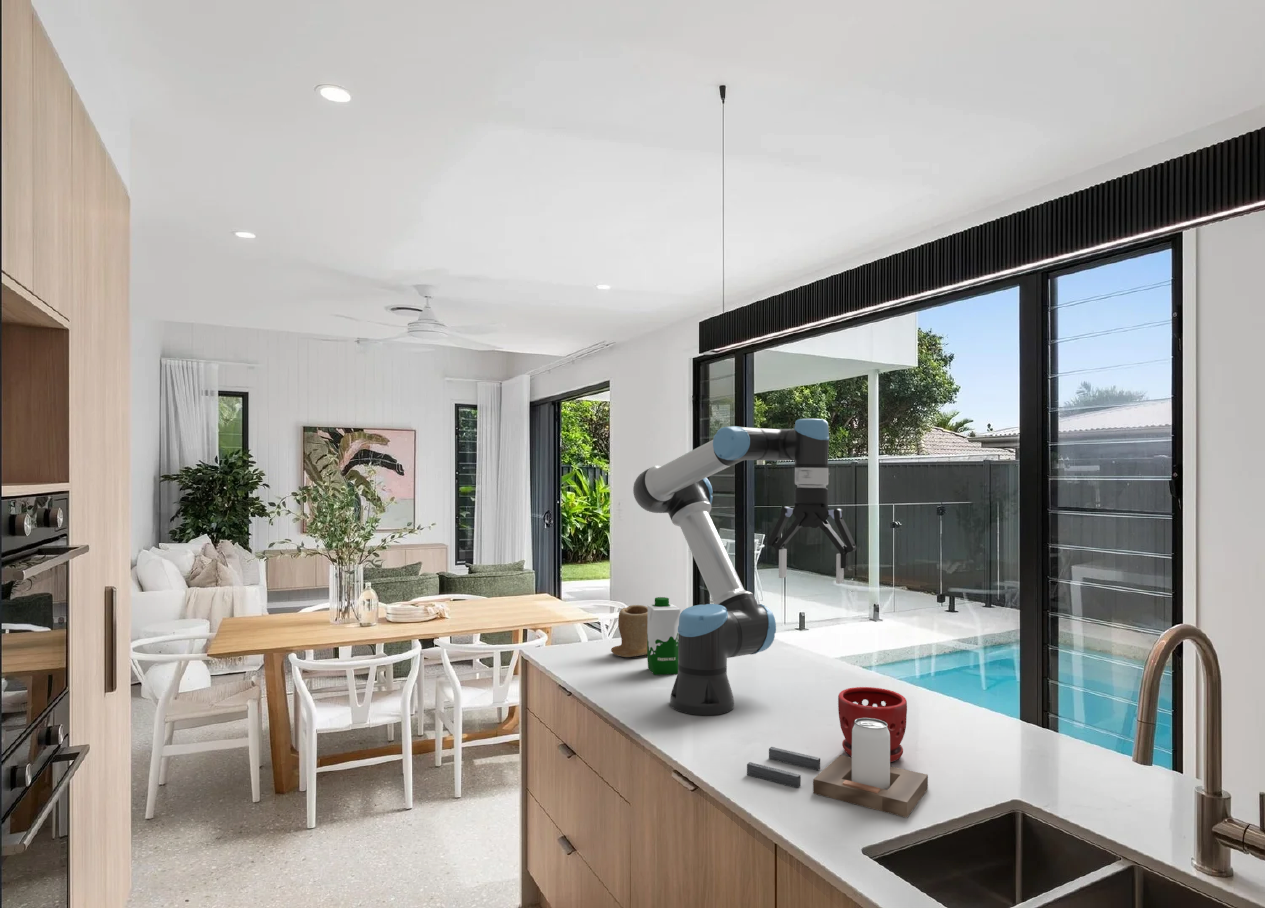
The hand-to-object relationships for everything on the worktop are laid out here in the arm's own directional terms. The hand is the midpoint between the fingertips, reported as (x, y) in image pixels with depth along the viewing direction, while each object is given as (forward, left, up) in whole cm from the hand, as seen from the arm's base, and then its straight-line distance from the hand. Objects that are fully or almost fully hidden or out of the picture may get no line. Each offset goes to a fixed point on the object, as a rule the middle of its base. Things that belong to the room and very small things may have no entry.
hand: (810, 580), depth 174 cm
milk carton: (-49, +16, -32) cm, 61 cm away
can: (+23, -30, -32) cm, 49 cm away
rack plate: (+23, -30, -32) cm, 49 cm away
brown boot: (-65, +27, -32) cm, 77 cm away
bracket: (+7, -31, -32) cm, 45 cm away
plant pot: (+18, -13, -32) cm, 39 cm away
